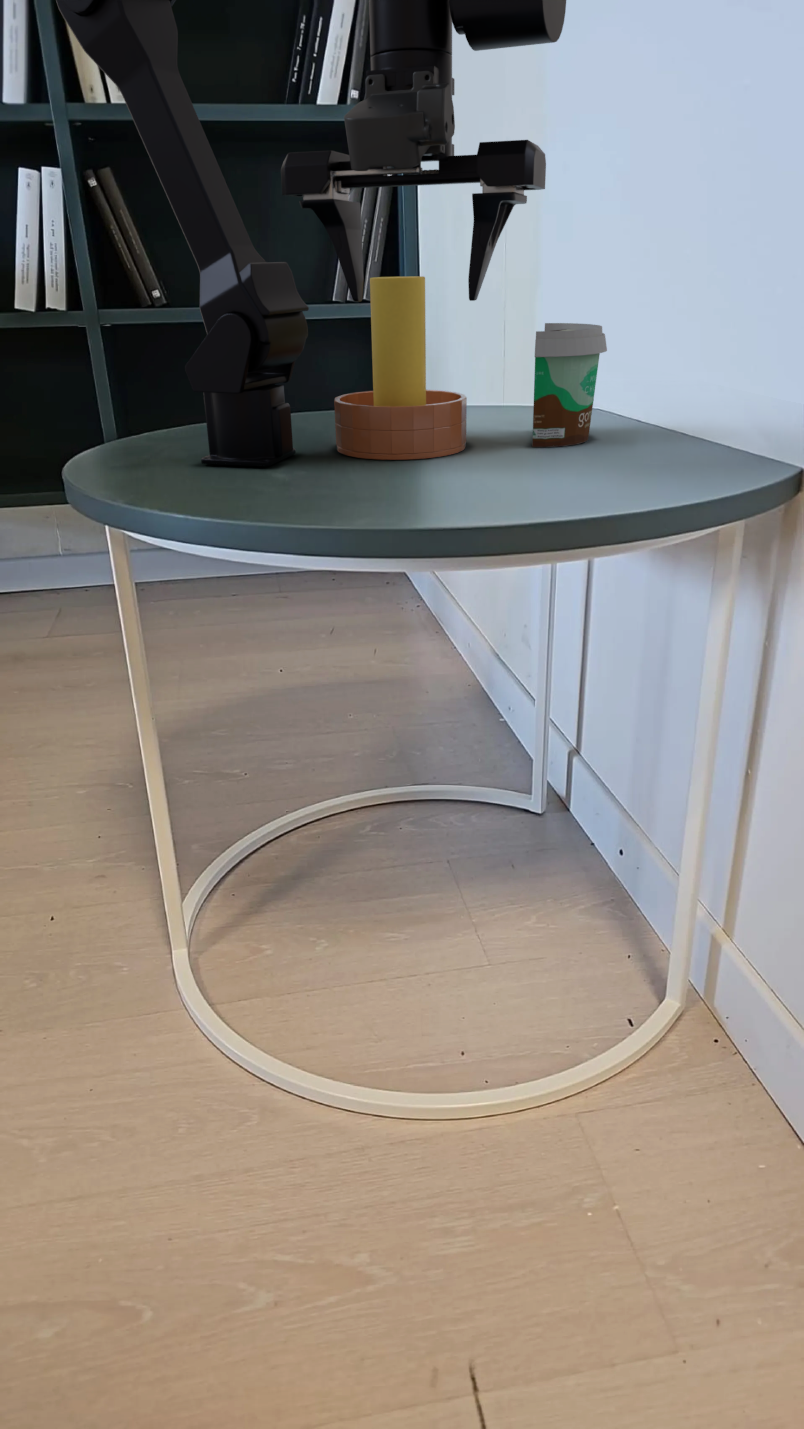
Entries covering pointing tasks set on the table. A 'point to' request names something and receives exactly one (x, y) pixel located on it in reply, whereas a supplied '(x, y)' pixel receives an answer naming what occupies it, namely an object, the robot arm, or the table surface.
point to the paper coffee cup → (565, 382)
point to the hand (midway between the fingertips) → (414, 300)
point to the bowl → (400, 426)
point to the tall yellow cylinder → (398, 340)
